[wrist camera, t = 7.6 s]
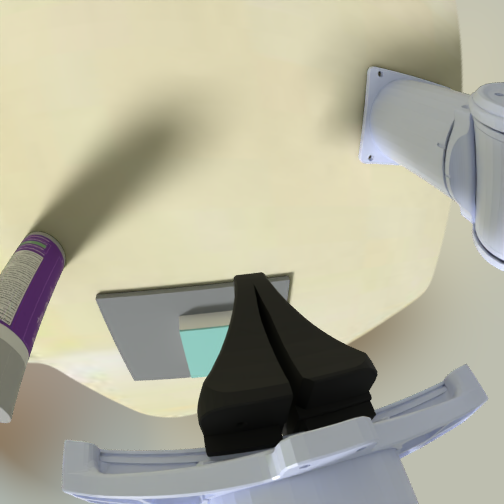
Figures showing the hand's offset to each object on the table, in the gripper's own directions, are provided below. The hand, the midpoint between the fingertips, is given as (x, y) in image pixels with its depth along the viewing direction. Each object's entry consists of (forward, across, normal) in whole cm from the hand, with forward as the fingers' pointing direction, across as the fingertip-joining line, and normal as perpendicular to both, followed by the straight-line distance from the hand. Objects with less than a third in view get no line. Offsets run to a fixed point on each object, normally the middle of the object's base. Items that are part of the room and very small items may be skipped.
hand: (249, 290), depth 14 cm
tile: (+9, -1, +15) cm, 18 cm away
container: (+10, +16, +3) cm, 20 cm away
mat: (+10, +4, +15) cm, 19 cm away
